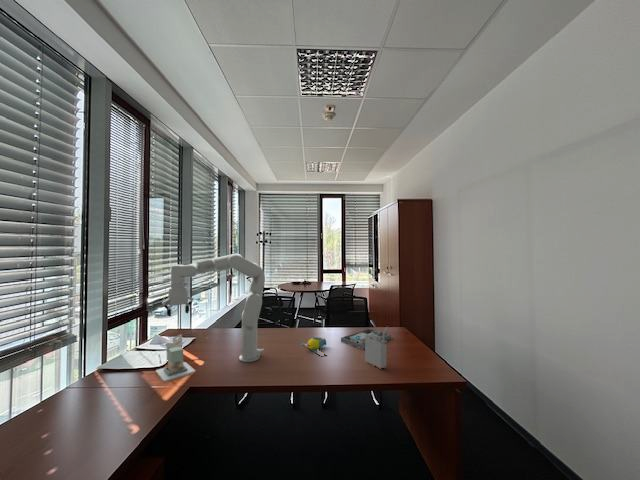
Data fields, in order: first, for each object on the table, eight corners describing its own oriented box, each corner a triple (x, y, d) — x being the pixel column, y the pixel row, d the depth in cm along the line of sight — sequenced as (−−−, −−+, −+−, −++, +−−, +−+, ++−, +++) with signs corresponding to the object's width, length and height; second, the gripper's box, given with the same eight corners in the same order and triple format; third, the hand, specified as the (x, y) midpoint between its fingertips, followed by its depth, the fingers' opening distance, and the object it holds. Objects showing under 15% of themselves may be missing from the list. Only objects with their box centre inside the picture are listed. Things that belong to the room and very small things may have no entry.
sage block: (179, 356, 164) (179, 346, 164) (183, 359, 160) (183, 349, 160) (168, 359, 160) (168, 348, 160) (171, 363, 156) (171, 352, 156)
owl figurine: (296, 333, 203) (314, 330, 211) (296, 345, 203) (314, 341, 211) (316, 345, 179) (336, 341, 187) (316, 359, 179) (336, 355, 187)
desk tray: (368, 331, 231) (368, 328, 231) (391, 338, 216) (391, 334, 216) (340, 341, 209) (340, 337, 209) (363, 350, 194) (363, 345, 193)
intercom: (383, 331, 219) (362, 339, 203) (383, 337, 219) (362, 345, 203) (370, 327, 229) (348, 334, 213) (370, 333, 229) (348, 340, 213)
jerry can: (390, 369, 164) (390, 326, 164) (384, 371, 162) (384, 327, 162) (370, 360, 177) (371, 320, 177) (365, 362, 174) (365, 321, 174)
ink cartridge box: (175, 356, 182) (175, 333, 182) (182, 356, 181) (182, 333, 181) (165, 361, 174) (166, 337, 174) (173, 362, 173) (173, 338, 173)
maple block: (179, 367, 164) (179, 356, 164) (183, 370, 160) (183, 359, 160) (168, 370, 160) (168, 359, 160) (171, 374, 156) (171, 363, 156)
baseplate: (185, 363, 171) (185, 359, 171) (195, 372, 160) (195, 368, 160) (155, 371, 160) (155, 368, 160) (163, 382, 149) (163, 378, 149)
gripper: (191, 283, 178) (191, 310, 178) (160, 286, 166) (160, 315, 166) (195, 284, 172) (195, 313, 172) (163, 288, 160) (164, 318, 160)
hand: (178, 314), depth 169 cm, fingers open, 9 cm apart
